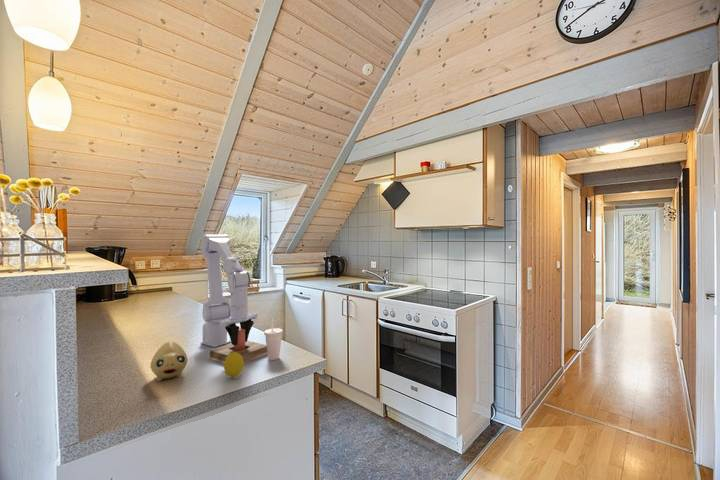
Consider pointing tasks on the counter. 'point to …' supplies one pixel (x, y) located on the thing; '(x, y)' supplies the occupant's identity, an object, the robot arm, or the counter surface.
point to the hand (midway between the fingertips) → (239, 342)
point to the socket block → (247, 354)
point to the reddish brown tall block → (240, 340)
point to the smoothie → (273, 342)
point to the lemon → (233, 364)
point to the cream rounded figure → (169, 361)
